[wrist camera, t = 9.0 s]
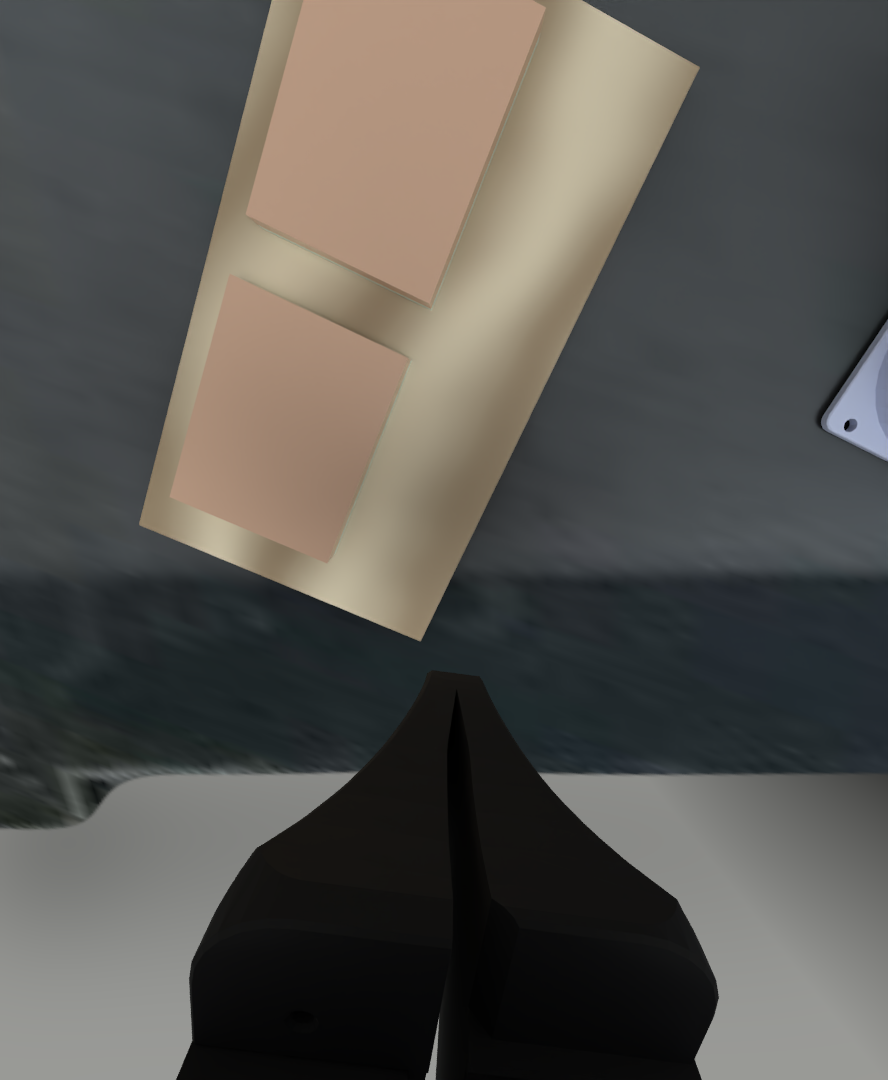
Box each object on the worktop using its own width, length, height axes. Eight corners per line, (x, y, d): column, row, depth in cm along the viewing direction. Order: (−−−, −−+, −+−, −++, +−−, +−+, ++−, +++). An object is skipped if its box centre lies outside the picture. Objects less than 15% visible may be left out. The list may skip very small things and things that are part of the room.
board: (691, 79, 16) (699, 67, 16) (421, 635, 23) (420, 641, 22) (316, -133, 15) (310, -154, 14) (147, 521, 22) (139, 524, 21)
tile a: (545, 8, 14) (333, -112, 14) (429, 303, 17) (245, 214, 16) (538, 41, 16) (345, -66, 15) (431, 310, 18) (262, 228, 17)
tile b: (407, 357, 17) (229, 273, 17) (327, 563, 20) (169, 497, 19) (411, 360, 19) (246, 282, 18) (335, 553, 21) (188, 490, 20)
